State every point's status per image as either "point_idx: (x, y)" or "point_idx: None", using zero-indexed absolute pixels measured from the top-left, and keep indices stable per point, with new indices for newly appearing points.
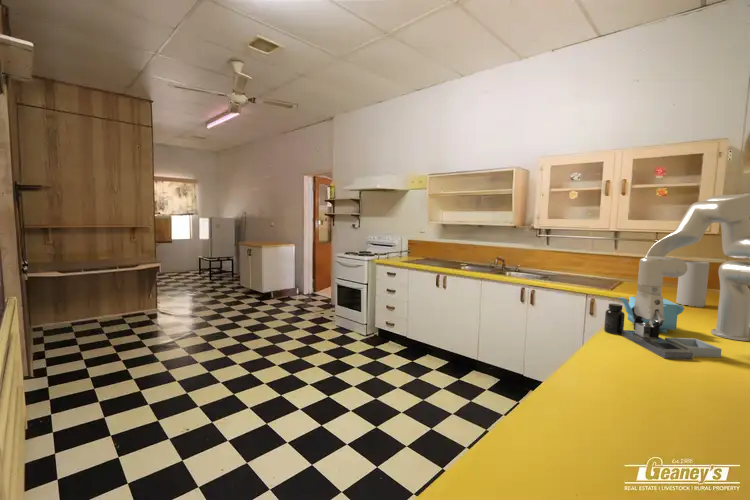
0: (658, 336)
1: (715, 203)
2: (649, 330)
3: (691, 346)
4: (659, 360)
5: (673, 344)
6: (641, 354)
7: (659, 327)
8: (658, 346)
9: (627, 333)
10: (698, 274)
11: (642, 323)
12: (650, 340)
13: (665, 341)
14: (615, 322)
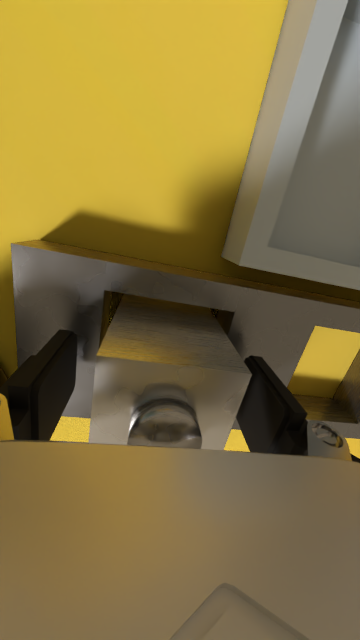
0: (261, 358)
1: None
2: (251, 443)
3: (323, 84)
4: (355, 441)
5: (340, 318)
6: None
7: (324, 430)
8: (329, 423)
9: (86, 413)
10: None
11: (106, 425)
12: None
13: (283, 318)
14: None
